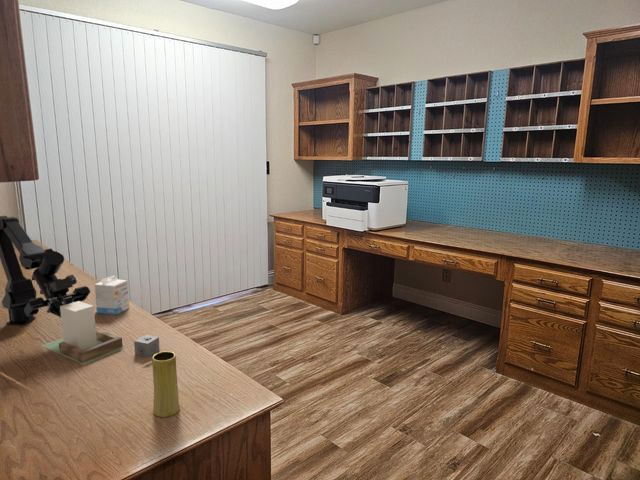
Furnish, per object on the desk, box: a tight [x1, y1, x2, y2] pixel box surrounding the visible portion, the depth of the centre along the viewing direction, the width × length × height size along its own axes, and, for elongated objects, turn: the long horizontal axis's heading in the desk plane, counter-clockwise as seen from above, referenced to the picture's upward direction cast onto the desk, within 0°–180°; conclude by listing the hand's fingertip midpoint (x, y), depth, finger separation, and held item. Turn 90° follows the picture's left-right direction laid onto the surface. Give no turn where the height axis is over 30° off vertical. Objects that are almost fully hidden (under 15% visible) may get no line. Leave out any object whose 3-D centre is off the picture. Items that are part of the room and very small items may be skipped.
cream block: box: [60, 301, 97, 350], centre depth 136 cm, size 8×6×13 cm
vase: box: [151, 350, 181, 418], centre depth 103 cm, size 6×6×14 cm
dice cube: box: [133, 334, 160, 358], centre depth 133 cm, size 5×5×5 cm
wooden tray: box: [59, 328, 124, 363], centre depth 134 cm, size 12×13×3 cm
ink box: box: [94, 275, 130, 316], centre depth 166 cm, size 9×8×13 cm
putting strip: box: [40, 337, 127, 366], centre depth 136 cm, size 23×14×1 cm, turn 59°
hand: (70, 321), depth 138 cm, fingers closed, pressing on cream block
